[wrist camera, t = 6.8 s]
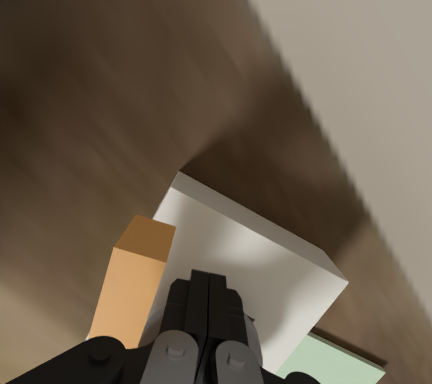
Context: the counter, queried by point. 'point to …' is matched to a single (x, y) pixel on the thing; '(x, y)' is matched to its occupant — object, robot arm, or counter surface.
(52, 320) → the counter surface
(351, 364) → the pad
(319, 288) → the socket block
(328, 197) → the counter surface
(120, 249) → the tan piece
